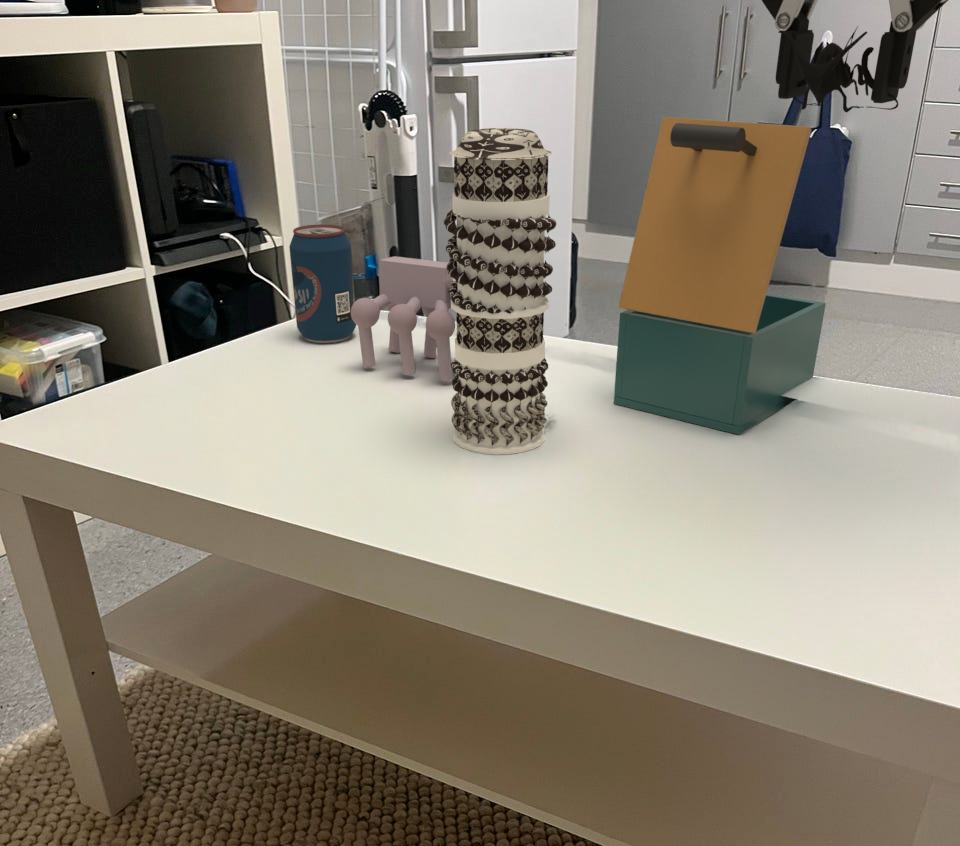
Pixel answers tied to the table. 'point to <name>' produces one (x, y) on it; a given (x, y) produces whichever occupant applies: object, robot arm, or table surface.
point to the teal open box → (717, 364)
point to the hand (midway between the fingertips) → (836, 96)
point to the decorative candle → (499, 289)
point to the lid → (713, 220)
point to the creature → (832, 71)
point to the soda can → (322, 283)
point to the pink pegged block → (409, 311)
